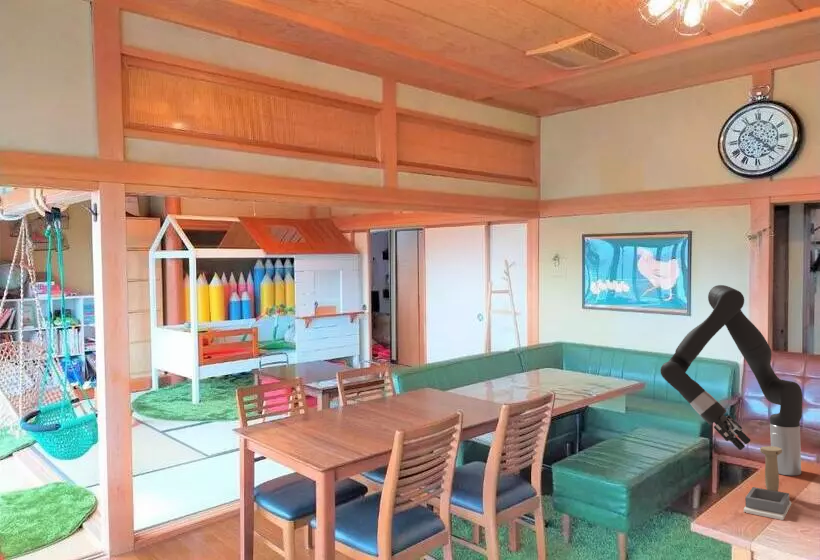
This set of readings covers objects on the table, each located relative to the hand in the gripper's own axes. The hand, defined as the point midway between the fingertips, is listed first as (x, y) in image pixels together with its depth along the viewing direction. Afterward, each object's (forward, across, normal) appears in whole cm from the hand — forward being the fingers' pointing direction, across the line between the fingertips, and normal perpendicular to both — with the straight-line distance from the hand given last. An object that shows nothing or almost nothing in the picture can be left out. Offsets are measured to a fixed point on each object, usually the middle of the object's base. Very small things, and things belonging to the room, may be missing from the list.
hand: (745, 445), depth 203 cm
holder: (+16, -14, +5) cm, 22 cm away
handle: (+16, 0, +5) cm, 17 cm away
